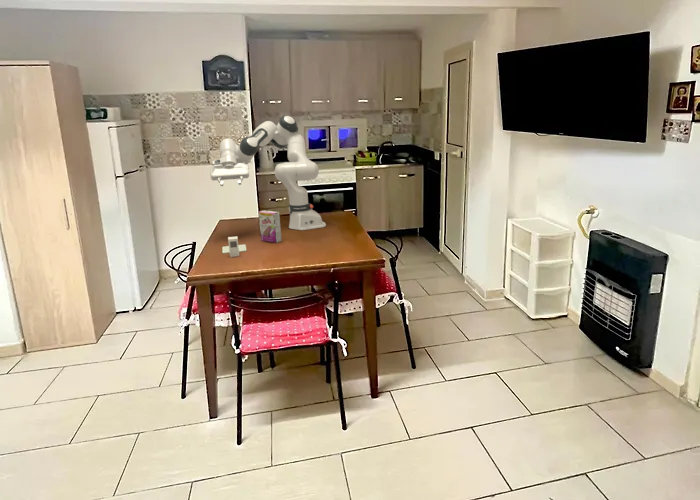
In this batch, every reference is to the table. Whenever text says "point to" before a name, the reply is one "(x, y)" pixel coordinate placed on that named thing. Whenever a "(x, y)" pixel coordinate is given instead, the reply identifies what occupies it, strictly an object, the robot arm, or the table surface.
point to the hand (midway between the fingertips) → (230, 184)
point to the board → (226, 250)
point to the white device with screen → (233, 246)
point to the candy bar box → (270, 226)
